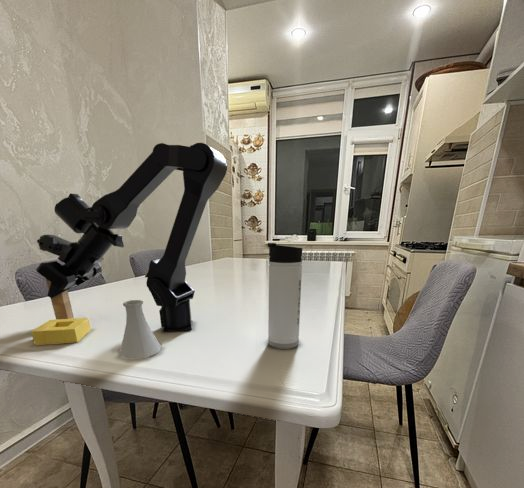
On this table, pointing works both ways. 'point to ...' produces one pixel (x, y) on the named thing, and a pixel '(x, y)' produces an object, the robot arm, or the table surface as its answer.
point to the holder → (61, 331)
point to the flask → (137, 333)
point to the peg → (61, 305)
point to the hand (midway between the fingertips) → (53, 295)
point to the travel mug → (284, 295)
